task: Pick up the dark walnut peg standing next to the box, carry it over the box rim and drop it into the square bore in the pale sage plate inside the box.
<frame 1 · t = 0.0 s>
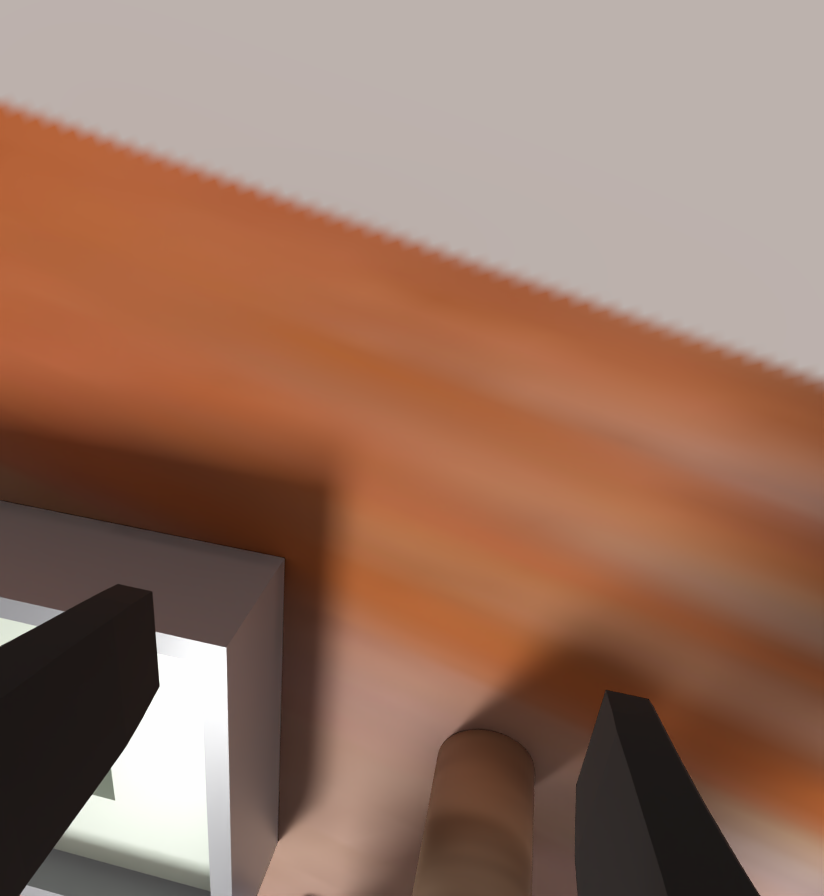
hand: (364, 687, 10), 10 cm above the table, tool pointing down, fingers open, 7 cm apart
peg: (485, 765, 25), on the table
bore box: (91, 673, 27), on the table
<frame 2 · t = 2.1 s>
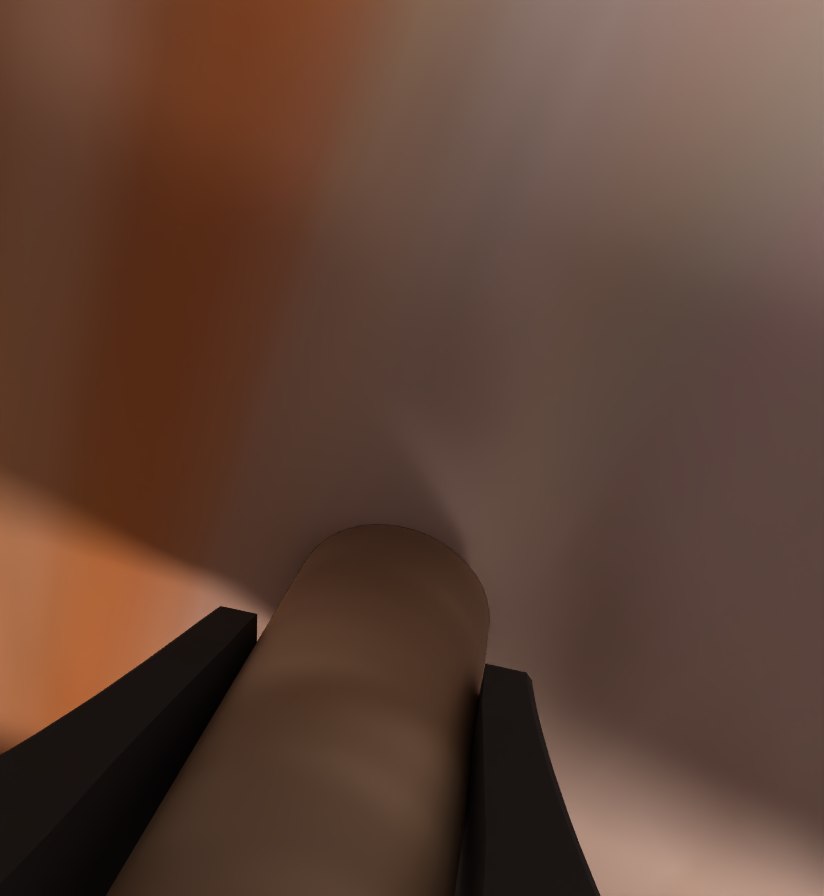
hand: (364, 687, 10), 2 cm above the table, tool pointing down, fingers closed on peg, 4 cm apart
peg: (390, 610, 12), on the table, touching gripper
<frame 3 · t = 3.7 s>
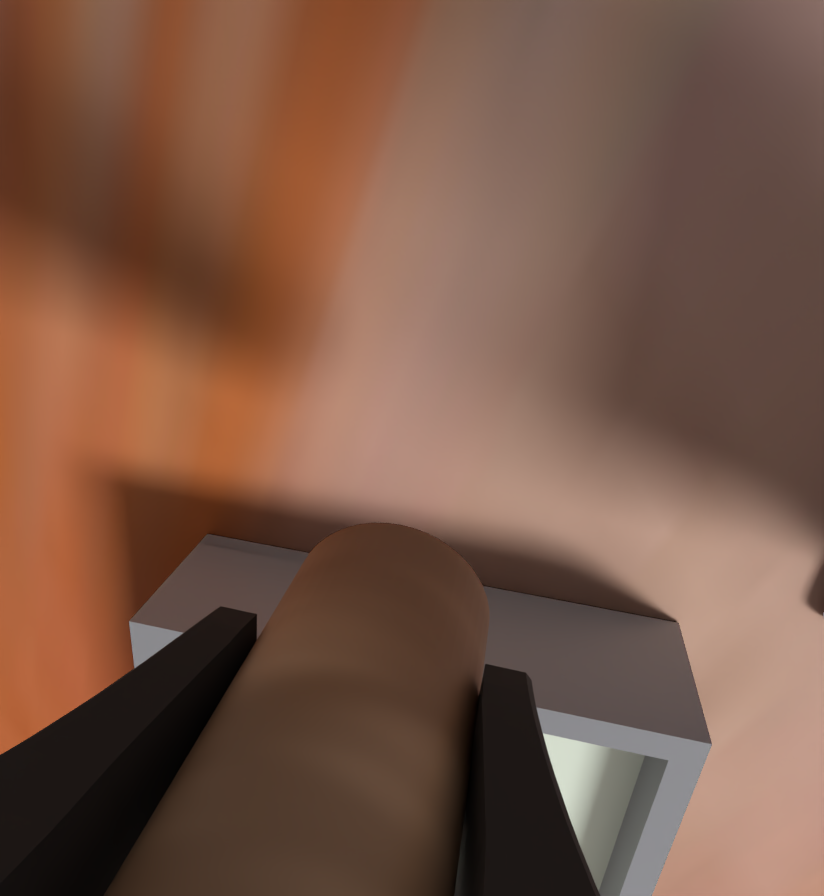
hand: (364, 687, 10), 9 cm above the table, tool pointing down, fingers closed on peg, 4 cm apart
peg: (390, 608, 12), point 7 cm above the table, touching gripper
bore box: (409, 755, 24), on the table
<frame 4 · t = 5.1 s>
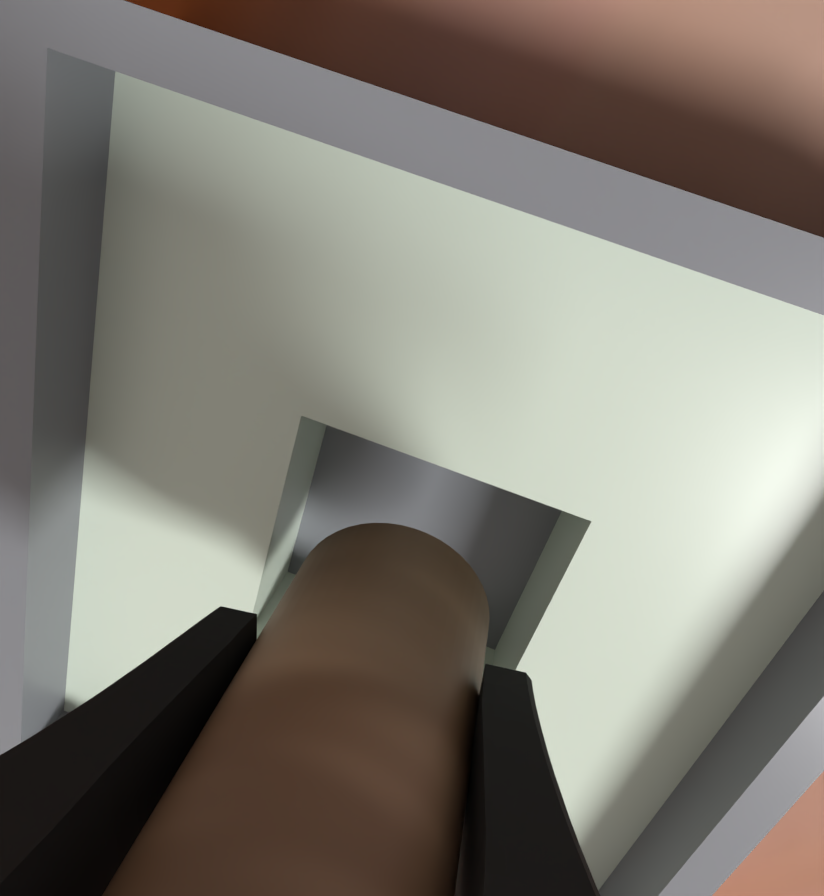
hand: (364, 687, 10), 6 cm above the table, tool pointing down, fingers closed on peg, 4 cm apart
peg: (390, 608, 12), point 4 cm above the table, touching gripper
bore box: (427, 509, 15), on the table
when the fingers open (4 cm above the table, at t = 5.7 s): peg drops 2 cm, resting on bore box.
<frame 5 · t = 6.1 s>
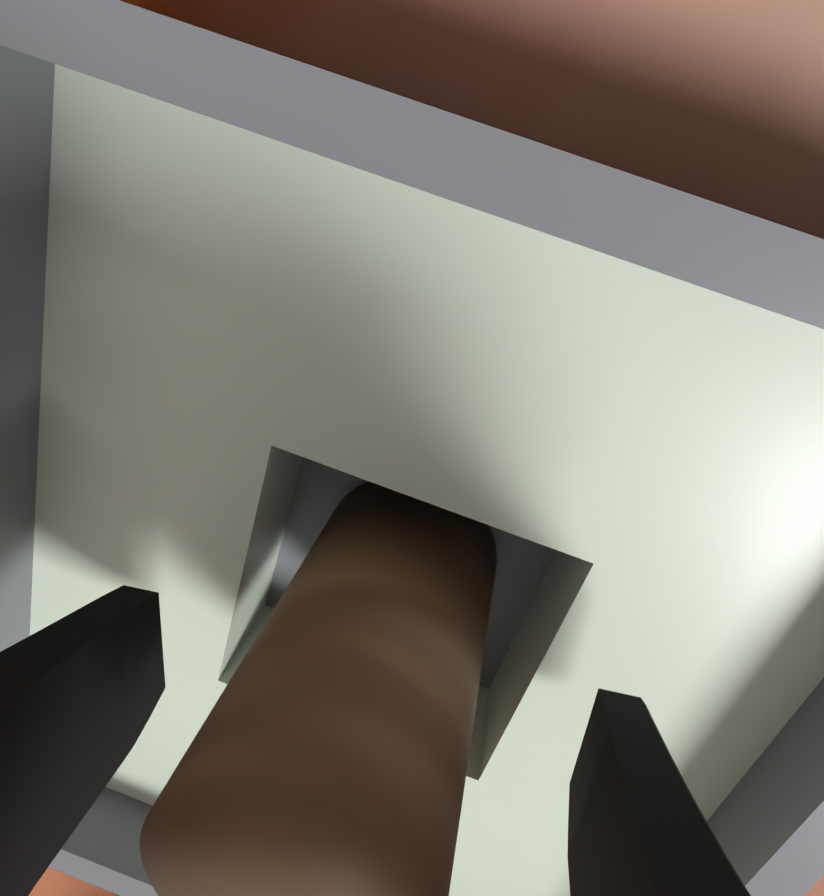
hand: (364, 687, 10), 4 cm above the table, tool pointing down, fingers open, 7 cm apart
peg: (409, 553, 14), point 1 cm above the table, touching bore box
bore box: (415, 538, 14), on the table
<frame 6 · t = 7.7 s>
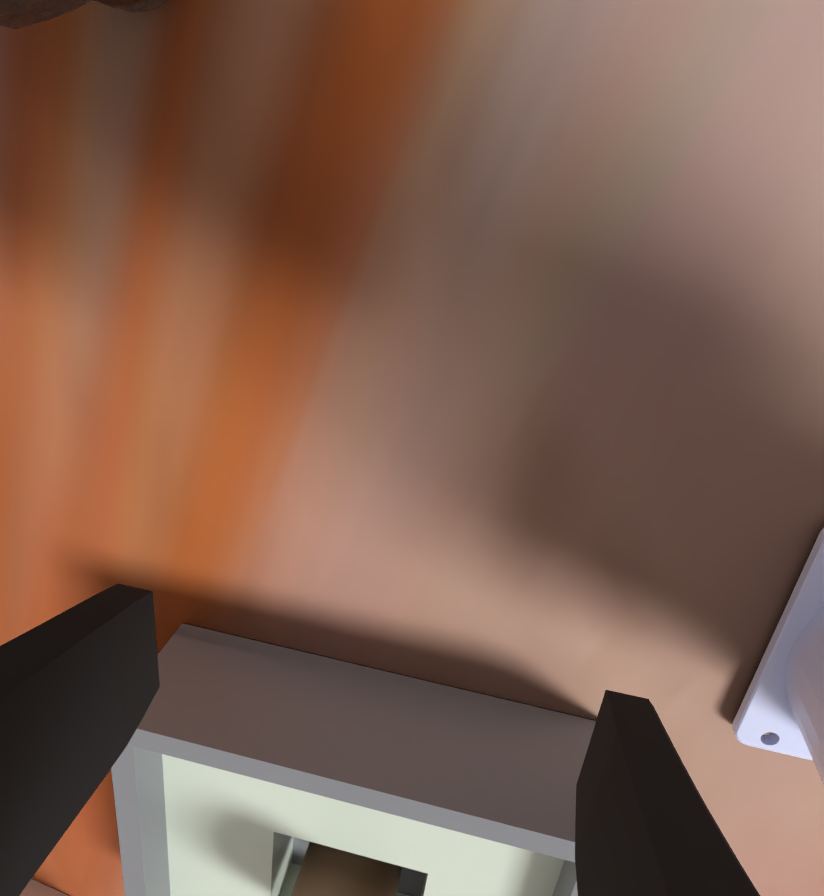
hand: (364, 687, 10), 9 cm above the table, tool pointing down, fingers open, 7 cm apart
peg: (360, 836, 25), point 1 cm above the table, touching bore box
bore box: (364, 823, 26), on the table
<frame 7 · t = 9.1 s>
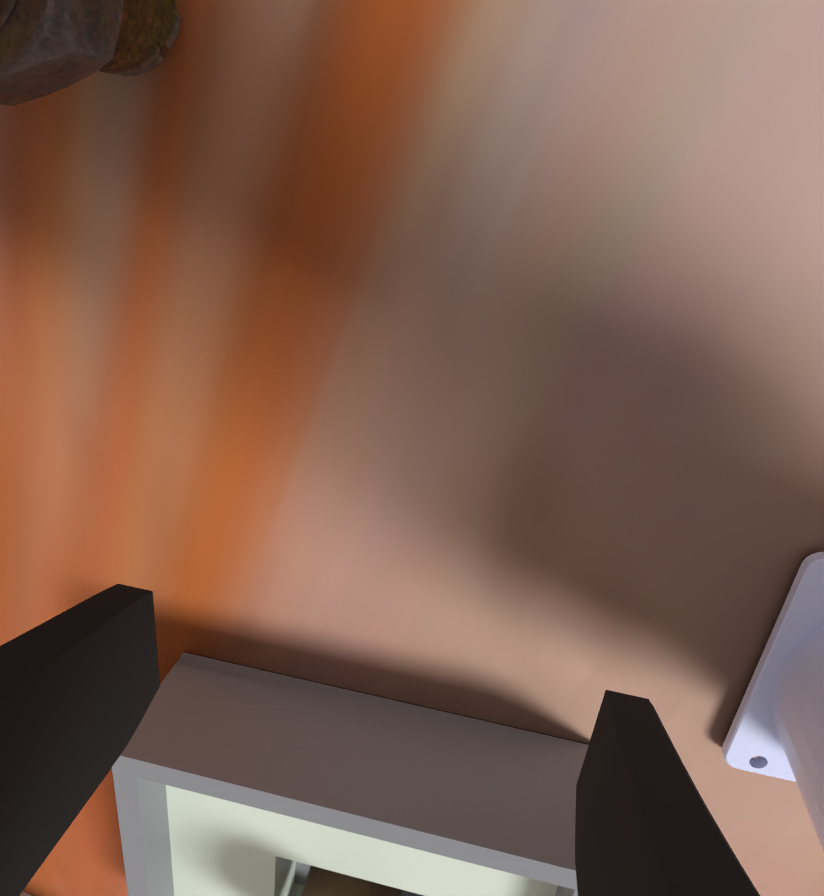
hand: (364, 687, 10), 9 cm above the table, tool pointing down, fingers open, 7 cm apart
peg: (361, 857, 26), point 1 cm above the table, touching bore box
bolt: (133, 2, 16), on the table
bore box: (365, 844, 27), on the table
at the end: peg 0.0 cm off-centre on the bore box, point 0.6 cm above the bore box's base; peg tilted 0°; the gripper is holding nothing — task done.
